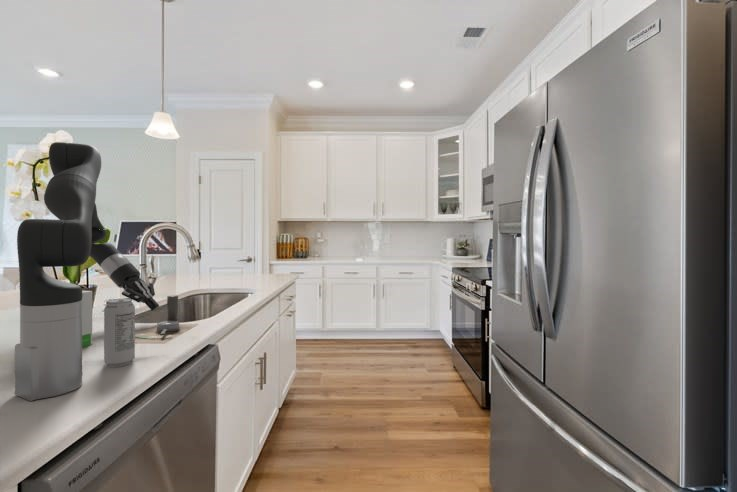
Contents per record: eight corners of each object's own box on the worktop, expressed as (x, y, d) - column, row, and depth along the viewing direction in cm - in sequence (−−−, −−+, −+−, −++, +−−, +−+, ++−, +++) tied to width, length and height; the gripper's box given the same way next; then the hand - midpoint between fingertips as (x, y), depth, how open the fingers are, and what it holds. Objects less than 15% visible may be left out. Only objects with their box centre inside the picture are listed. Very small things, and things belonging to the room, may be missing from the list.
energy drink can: (124, 357, 92) (125, 297, 91) (140, 361, 89) (140, 299, 89) (98, 365, 86) (98, 301, 86) (114, 369, 83) (114, 303, 83)
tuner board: (164, 347, 100) (164, 342, 100) (115, 347, 100) (115, 342, 100) (198, 327, 122) (198, 323, 122) (158, 327, 122) (158, 323, 122)
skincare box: (62, 358, 90) (62, 294, 90) (40, 356, 92) (40, 293, 91) (94, 348, 99) (94, 290, 98) (73, 346, 100) (73, 289, 100)
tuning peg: (163, 323, 121) (163, 295, 121) (183, 322, 123) (183, 295, 123) (150, 338, 103) (150, 306, 103) (174, 336, 105) (174, 305, 105)
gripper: (113, 263, 115) (150, 304, 114) (141, 261, 128) (175, 297, 128) (96, 280, 115) (134, 320, 115) (127, 276, 129) (160, 312, 128)
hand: (156, 308), depth 121 cm, fingers closed
